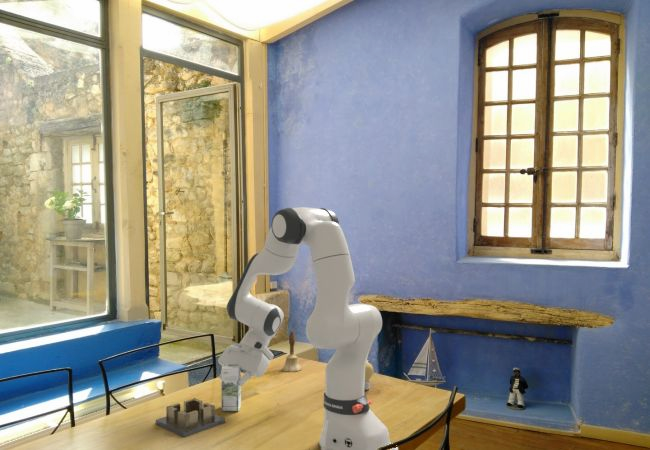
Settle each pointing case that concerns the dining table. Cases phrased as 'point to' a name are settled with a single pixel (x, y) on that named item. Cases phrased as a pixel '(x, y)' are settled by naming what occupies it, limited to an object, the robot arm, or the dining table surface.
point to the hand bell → (291, 357)
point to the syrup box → (231, 387)
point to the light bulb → (368, 375)
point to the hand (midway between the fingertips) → (229, 381)
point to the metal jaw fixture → (190, 417)
